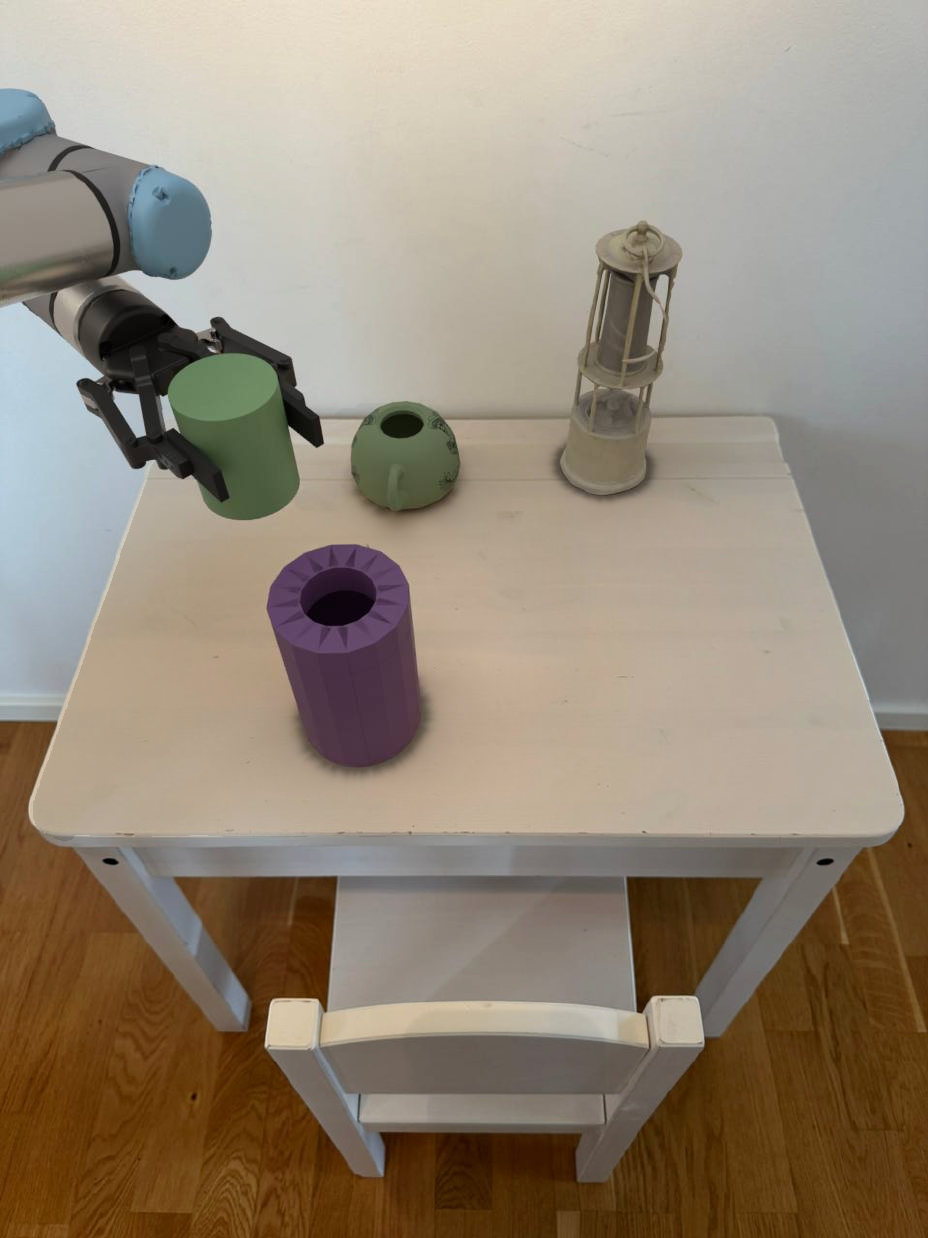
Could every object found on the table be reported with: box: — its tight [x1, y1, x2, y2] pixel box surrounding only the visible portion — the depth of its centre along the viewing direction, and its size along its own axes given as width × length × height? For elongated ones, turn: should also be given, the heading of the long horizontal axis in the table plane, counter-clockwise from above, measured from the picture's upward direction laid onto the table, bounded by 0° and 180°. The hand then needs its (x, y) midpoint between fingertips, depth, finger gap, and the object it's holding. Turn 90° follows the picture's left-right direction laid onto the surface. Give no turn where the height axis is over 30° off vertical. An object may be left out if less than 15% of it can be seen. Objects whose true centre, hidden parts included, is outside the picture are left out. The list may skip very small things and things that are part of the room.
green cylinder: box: [167, 353, 301, 521], centre depth 67 cm, size 8×8×10 cm
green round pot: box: [350, 400, 461, 512], centre depth 98 cm, size 16×13×9 cm
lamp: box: [559, 220, 683, 496], centre depth 91 cm, size 10×13×30 cm
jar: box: [265, 543, 422, 768], centre depth 75 cm, size 11×11×18 cm
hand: (270, 458), depth 64 cm, fingers closed on green cylinder, 8 cm apart
